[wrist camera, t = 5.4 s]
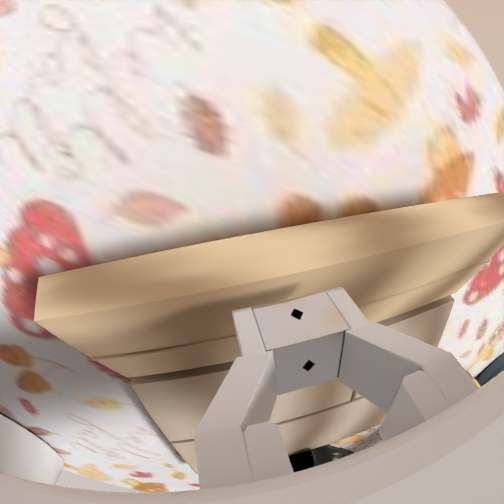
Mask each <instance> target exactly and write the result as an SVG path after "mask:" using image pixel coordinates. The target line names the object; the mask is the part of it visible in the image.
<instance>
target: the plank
mask: <svg viewBox="0 0 504 504" xmlns="http://www.w3.org/2000/svg"><path fill="white" fill-rule="evenodd" d="M503 244H504V192H500V193H493V194H486V195H479V196H473V197H466V198H459V199H453V200H446V201H440V202H433V203H427V204H421V205H414V206H408V207H402V208H396V209H390V210H384V211H378V212H372V213H366V214H360V215H354V216H348V217H343V218H337V219H331V220H325V221H320V222H314V223H308V224H303V225H297V226H292V227H286V228H281V229H275V230H270V231H264V232H259V233H253V234H248V235H243V236H237V237H232V238H227V239H222V240H216V241H211V242H206V243H201V244H196V245H191V246H186V247H180V248H175V249H170V250H165V251H160V252H155V253H150V254H145V255H141V256H136V257H131V258H126V259H121V260H116V261H111V262H107V263H102V264H97V265H92V266H88V267H83V268H78V269H74V270H69V271H65V272H60V273H55V274H51V275H46V276H42V277H39V279H38V286H37V294H36V304H35V315H34V321H35V322H36V323H38V324H39V325H40V326H42V327H43V328H45V329H46V330H48V331H49V332H51V333H52V334H54V335H55V336H57V337H58V338H60V339H61V340H63V341H64V342H66V343H67V344H69V345H70V346H72V347H74V348H75V349H77V350H79V351H80V352H82V353H84V354H85V355H87V356H89V357H90V358H91V360H92V361H97V362H99V363H101V364H102V365H104V366H106V367H108V368H110V369H112V370H113V371H115V372H117V373H119V374H121V375H123V376H125V377H127V378H130V377H138V376H146V375H154V374H161V373H168V372H175V371H181V370H187V369H193V368H199V367H204V366H210V365H215V364H220V363H226V362H230V361H234V360H235V359H236V358H237V357H240V353H239V348H238V343H237V338H236V333H235V328H234V322H233V317H232V310H238V309H243V308H248V307H253V306H258V305H263V304H269V303H274V302H279V301H284V300H290V299H294V298H298V297H303V296H307V295H311V294H315V293H319V292H323V291H325V290H329V289H333V288H337V287H342V288H344V290H345V291H346V292H347V293H348V295H349V296H350V297H351V299H352V300H353V301H354V303H355V304H356V305H357V306H358V308H359V309H360V310H361V312H362V313H363V314H364V316H365V317H366V318H367V320H368V321H369V322H370V323H373V322H379V321H382V320H385V319H388V318H391V317H394V316H397V315H400V314H402V313H405V312H408V311H411V310H413V309H416V308H419V307H421V306H424V305H426V304H429V303H431V302H434V301H436V300H439V299H441V298H444V297H446V296H449V295H451V294H454V293H456V292H457V291H458V290H459V289H460V288H461V287H462V286H463V285H464V284H465V283H466V282H467V281H468V280H469V279H470V278H472V277H473V276H474V275H475V274H476V273H477V272H478V271H479V270H480V269H481V268H482V267H483V266H484V265H485V264H486V263H487V262H489V261H490V260H491V259H490V258H491V257H492V256H493V255H494V254H495V253H496V252H497V251H498V250H499V249H500V248H501V247H502V246H503Z"/></svg>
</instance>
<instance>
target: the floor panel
mask: <svg viewBox="0 0 504 504" xmlns="http://www.w3.org/2000/svg"><path fill="white" fill-rule="evenodd" d="M453 303H454V299H453V298H452V297H451V296H450V295H449V296H446V297H444V298H441V299H439V300H436V301H434V302H431V303H429V304H426V305H424V306H421V307H419V308H416V309H413V310H411V311H408V312H405V313H402V314H400V315H397V316H394V317H391V318H388V319H385V320H382V321H379V322H377V323H379V324H381V325H384V326H386V327H389V328H391V329H393V330H396V331H398V332H401V333H403V334H406V335H408V336H410V337H413V338H415V339H418V340H420V341H423V342H425V343H428V344H430V345H432V346H435V347H437V346H438V344H439V341H440V339H441V336H442V334H443V331H444V328H445V326H446V323H447V320H448V318H449V315H450V312H451V309H452V306H453ZM233 362H234V361H230V362H226V363H220V364H215V365H210V366H204V367H199V368H193V369H187V370H181V371H175V372H168V373H161V374H154V375H146V376H138V377H131V384H130V385H131V387H132V388H133V390H134V392H135V393H136V395H137V396H138V398H139V399H140V401H141V402H142V404H143V405H144V407H145V408H146V410H147V411H148V413H149V414H150V415H151V417H152V418H153V420H154V421H155V422H156V424H157V425H158V427H159V428H160V429H161V431H162V432H163V433H164V435H165V436H166V437H167V439H168V440H169V441H170V443H171V444H172V445H173V446H174V448H175V449H176V450H177V451H178V453H179V454H180V455H181V456H182V458H183V459H184V460H185V461H186V462H187V464H188V465H189V466H190V467H191V468H192V470H193V471H194V472H195V473H198V467H197V459H196V450H195V440H194V432H195V430H196V428H197V426H198V425H199V423H200V421H201V419H202V418H203V416H204V414H205V412H206V411H207V409H208V407H209V405H210V404H211V402H212V400H213V398H214V397H215V395H216V393H217V391H218V389H219V388H220V386H221V384H222V382H223V380H224V379H225V377H226V375H227V373H228V371H229V370H230V368H231V366H232V364H233ZM387 414H388V413H387V412H385V411H384V410H382V409H381V408H379V407H378V406H376V405H375V404H373V403H371V402H370V401H368V400H367V399H365V398H364V397H362V396H361V395H359V394H358V393H356V392H355V391H353V390H352V389H350V388H349V387H347V386H346V385H344V384H343V383H341V382H340V381H338V379H335V380H331V381H328V382H324V383H320V384H317V385H313V386H309V387H305V388H302V389H299V390H295V391H292V392H288V393H285V394H281V395H277V399H276V402H275V405H274V408H273V411H272V414H271V417H270V420H269V421H270V422H272V423H275V424H277V425H278V426H279V430H280V433H281V436H282V439H283V442H284V445H285V448H286V451H287V454H288V456H290V455H294V454H297V453H301V452H304V451H308V450H310V449H314V448H318V447H321V446H324V445H327V444H330V443H333V442H336V441H338V440H341V439H344V438H347V437H349V436H352V435H355V434H357V433H360V432H362V431H365V430H367V429H370V428H372V427H375V426H377V425H379V424H382V423H383V422H384V420H385V418H386V416H387ZM309 448H310V449H309Z"/></svg>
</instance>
